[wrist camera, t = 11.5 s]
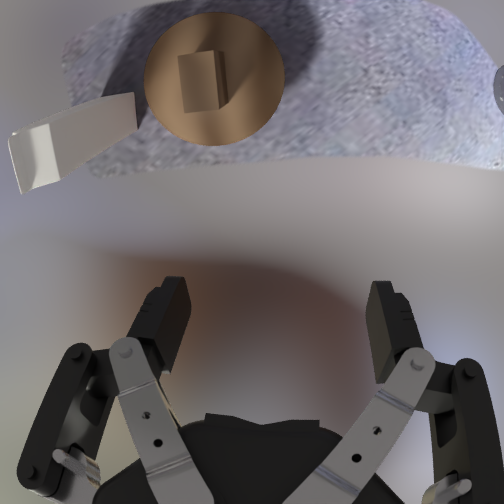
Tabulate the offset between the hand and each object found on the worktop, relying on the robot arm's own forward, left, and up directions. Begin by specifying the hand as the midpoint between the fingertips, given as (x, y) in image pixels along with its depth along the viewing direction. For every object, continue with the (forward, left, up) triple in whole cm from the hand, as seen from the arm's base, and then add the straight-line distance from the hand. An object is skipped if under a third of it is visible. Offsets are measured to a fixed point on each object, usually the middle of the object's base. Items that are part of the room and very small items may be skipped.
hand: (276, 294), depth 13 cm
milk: (+24, -5, -32) cm, 40 cm away
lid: (+8, -8, -26) cm, 28 cm away
